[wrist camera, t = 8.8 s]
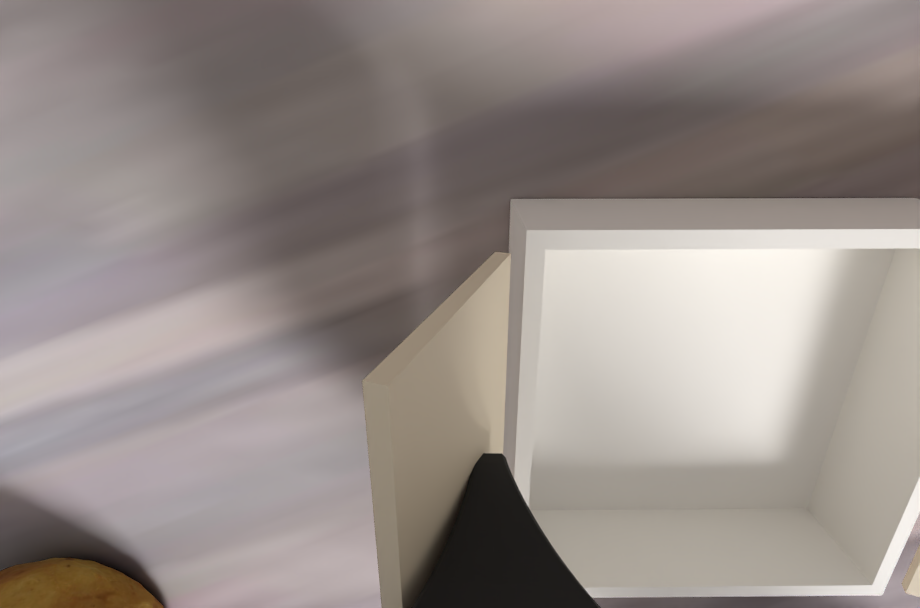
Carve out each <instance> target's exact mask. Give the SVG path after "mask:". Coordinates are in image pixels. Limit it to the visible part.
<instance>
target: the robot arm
mask: <svg viewBox="0 0 920 608" xmlns="http://www.w3.org/2000/svg"><path fill="white" fill-rule="evenodd" d="M411 608H601V607H600V606H599V605H598V604H597V603H596V602H595V601H594V600H593V599H592V597H591V596H590V595H589V594H588V592H587V591H586V590H585V589H584V588H583V586H582V585H581V584H580V583H579V582H578V580H577V579H576V578H575V576H574V575H573V574H572V573H571V571H570V570H569V569H568V567H567V566H566V565H565V563H564V562H563V561H562V559H561V558H560V556H559V555H558V554H557V552H556V551H555V549H554V548H553V546H552V545H551V543H550V542H549V540H548V539H547V537H546V536H545V534H544V533H543V531H542V529H541V528H540V526H539V524H538V523H537V521H536V519H535V518H534V516H533V514H532V512H531V511H530V509H529V507H528V505H527V504H526V502H525V500H524V498H523V496H522V494H521V492H520V490H519V488H518V486H517V484H516V482H515V480H514V478H513V475H512V473H511V471H510V468H509V466H508V463H507V460H506V457H505V456H504V455H503V454H502V453H483V454H482V456H481V457H480V458H479V459H478V461H477V462H476V464H475V466H474V468H473V470H472V472H471V474H470V476H469V480H468V484H467V488H466V492H465V495H464V498H463V501H462V504H461V507H460V510H459V513H458V516H457V518H456V521H455V523H454V526H453V528H452V531H451V533H450V535H449V538H448V540H447V542H446V545H445V547H444V549H443V551H442V553H441V555H440V557H439V559H438V561H437V563H436V565H435V567H434V569H433V571H432V573H431V575H430V577H429V579H428V580H427V582H426V584H425V586H424V587H423V589H422V591H421V592H420V594H419V596H418V598H417V599H416V601H415V603H414V604H413V606H412V607H411Z"/></svg>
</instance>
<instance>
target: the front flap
mask: <svg viewBox="0 0 920 608" xmlns="http://www.w3.org/2000/svg"><path fill="white" fill-rule="evenodd" d="M510 267H511V253H503V252H495V253H494V254H492V255H491V256H490V257H489V258H488V259H487V260H486V261H485V262H484V263H483V264H482V265H481V266H480V267H479V268H478V269H477V270H476V271H475V272H474V273H473V274H472V275H471V276H470V277H469V278H468V279H467V280H466V281H465V282H464V283H463V284H462V285H461V286H459V287H458V288H457V289H456V290H455V291H454V292H453V293H452V294H451V295H450V296H449V297H448V298H447V299H446V300H445V301H444V302H443V303H442V304H441V305H440V306H439V307H438V308H437V309H436V310H435V311H434V312H433V313H432V314H431V315H430V316H429V317H427V318H426V319H425V320H424V321H423V322H422V323H421V324H420V325H419V326H418V327H417V328H416V329H415V330H414V331H413V332H412V333H411V334H410V335H409V336H408V337H407V338H406V339H405V340H404V341H403V342H402V343H401V344H400V345H399V346H398V347H397V348H396V349H394V350H393V351H392V352H391V353H390V354H389V355H388V356H387V357H386V358H385V359H384V360H383V361H382V362H381V363H380V364H379V365H378V366H377V367H376V368H375V369H374V370H373V371H372V372H371V373H370V374H369V375H368V376H367V377H366V378H365V379H364V380H363V381H362V385H363V397H364V408H365V420H366V431H367V443H368V454H369V466H370V477H371V489H372V500H373V512H374V523H375V535H376V546H377V558H378V570H379V581H380V593H381V604H382V608H411V607H412V606H413V604H414V603H415V601H416V599H417V598H418V596H419V594H420V592H421V591H422V589H423V587H424V586H425V584H426V582H427V580H428V579H429V577H430V575H431V573H432V571H433V569H434V567H435V565H436V563H437V561H438V559H439V557H440V555H441V553H442V551H443V549H444V547H445V545H446V542H447V540H448V538H449V535H450V533H451V531H452V528H453V526H454V523H455V521H456V518H457V516H458V513H459V510H460V507H461V504H462V501H463V498H464V495H465V492H466V488H467V484H468V480H469V476H470V474H471V472H472V470H473V468H474V466H475V464H476V462H477V461H478V459H479V458H480V457H481V456H482V454H483V453H502V454H503V446H504V420H505V395H506V369H507V344H508V318H509V292H510Z"/></svg>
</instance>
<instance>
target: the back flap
mask: <svg viewBox="0 0 920 608" xmlns="http://www.w3.org/2000/svg"><path fill="white" fill-rule="evenodd" d="M902 586H903V588H904V591H905V593H907V594H910V595H914V596H917V597H920V545H919V547H918V550H917V552H916V554H915V556H914V558H913V560H912V562H911V564H910V567H909V569H908V571H907V573H906V575H905V577H904V579H903V582H902Z"/></svg>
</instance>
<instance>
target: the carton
mask: <svg viewBox="0 0 920 608" xmlns="http://www.w3.org/2000/svg"><path fill="white" fill-rule="evenodd" d="M509 253H511V267H510V292H509V318H508V344H507V369H506V395H505V420H504V446H503V455H504V456H505V457H506V460H507V463H508V466H509V468H510V471H511V473H512V475H513V478H514V480H515V482H516V484H517V486H518V488H519V490H520V492H521V494H522V496H523V498H524V500H525V502H526V504H527V505H528V507H529V509H530V511H531V512H532V514H533V516H534V518H535V519H536V521H537V523H538V524H539V526H540V528H541V529H542V531H543V533H544V534H545V536H546V537H547V539H548V540H549V542H550V543H551V545H552V546H553V548H554V549H555V551H556V552H557V554H558V555H559V556H560V558H561V559H562V561H563V562H564V563H565V565H566V566H567V567H568V569H569V570H570V571H571V573H572V574H573V575H574V576H575V578H576V579H577V580H578V582H579V583H580V584H581V585H582V586H583V588H584V589H585V590H586V591H587V592H588V594H589V595H590V596H591V597H592V598H628V597H751V596H874V595H883V592H884V590H885V588H886V586H887V583H888V581H889V579H890V577H891V575H892V572H893V570H894V568H895V566H896V564H897V561H898V559H899V557H900V555H901V553H902V550H903V548H904V546H905V544H906V542H907V539H908V537H909V535H910V533H911V530H912V528H913V526H914V524H915V522H916V519H917V517H918V515H919V513H920V199H917V198H665V199H511V201H510V228H509Z"/></svg>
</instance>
